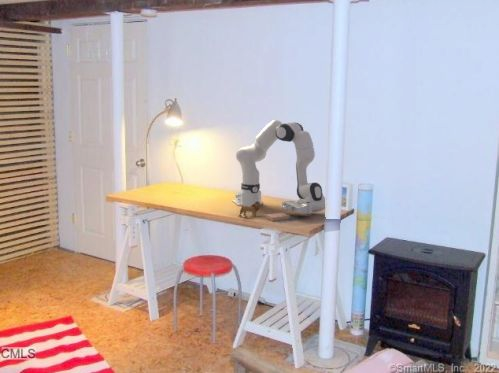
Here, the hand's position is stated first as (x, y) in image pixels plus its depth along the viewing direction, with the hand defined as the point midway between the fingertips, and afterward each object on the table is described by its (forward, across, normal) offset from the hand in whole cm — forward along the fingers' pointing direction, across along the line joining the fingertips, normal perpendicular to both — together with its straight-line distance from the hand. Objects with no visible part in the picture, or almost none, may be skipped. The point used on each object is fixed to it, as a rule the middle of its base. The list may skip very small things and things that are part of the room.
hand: (283, 208), depth 325 cm
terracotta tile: (-2, 0, +5) cm, 5 cm away
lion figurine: (+15, -14, +7) cm, 22 cm away
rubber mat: (0, 0, +6) cm, 7 cm away
